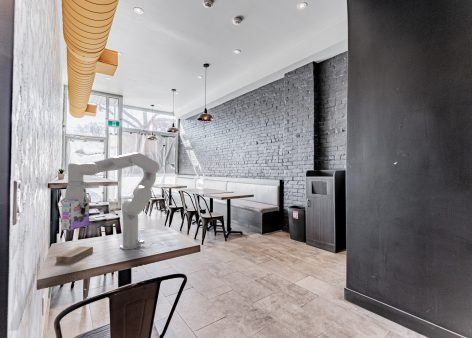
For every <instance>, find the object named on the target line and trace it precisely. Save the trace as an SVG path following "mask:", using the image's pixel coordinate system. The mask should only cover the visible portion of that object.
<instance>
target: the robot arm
mask: <svg viewBox="0 0 472 338" xmlns="http://www.w3.org/2000/svg"><path fill="white" fill-rule="evenodd" d="M133 166H136V167H138V168H139V169H140V168H141V169H142V171H143V176H142V178H141V180H140V182H138V185H137V186H136V187H135V188H134V189H133V192H132V194H133V195H132V196H133V198H127V199H126V200H125V201H124V202H123V203H122V205H121V213H122V244H120V245H119V249H121V250H134V249H137V248H140V247H141V245H142V244H143V245H145V244H146V243H145V242H146V241H145V240H144V239H140V238H139V215H140V214H141V212H143V211H144V209H145V208H146V206H147V205H148V203H149V201H150V200H151V198H152V195H153V192H152V187H153V186H154V184H155V182H156V179H157V175H156V173H158V172H159V170H160V165H159V163H158V162H157V161H156V160H154V159H152V158H151V157H149V156H147V155H144V154H143V153H141V152H132V153H126V154H122V155H118V156H113V157H109V158H106V159H102V160H97V161H92V162H88V163H80V162H76V163H75V162H70V163H68V165H67V186H66V189H65V193H64V195H65V196H64V198H63V199H62V200H60V204H62V201H68V200H78V202H79V204H80V205H81V206H82V208H81V215H83V214H85V212H86V210H85V207H86V206H87V205H88V204H89V205H90V203H91V202H92V200H91V199H90V198H89V197H87V196H88V194H87V190H86V186H85V185H86V184H87V183H86V181H84V176H94V175H97V174H99V173H104V172H109V171H118V170H122V169H125V168H131V167H133ZM84 199H85V201H84ZM85 202H87V203H85Z"/></svg>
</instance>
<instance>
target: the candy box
mask: <svg viewBox="0 0 472 338" xmlns="http://www.w3.org/2000/svg"><path fill="white" fill-rule="evenodd" d="M84 201H85V199H84ZM85 203H87V202H85ZM81 208H82V206H81V205H80V204H79V202H78V200H68V201H62V203H61V231H73V230H76V229H77V230H78V229H79V228H83V227H86V226H89V225H90V203H89V204H88V205H87V206H86V207H85V210H86V212H85V214H83V215H81Z"/></svg>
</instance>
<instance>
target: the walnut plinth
mask: <svg viewBox="0 0 472 338" xmlns="http://www.w3.org/2000/svg"><path fill="white" fill-rule="evenodd" d="M93 253H94V247H93V246H82V245H81V246H80V245H79V246H77V247H74V248H72V249H70V250H68V251H66V252H63V253H60V254H59V255H56V256H55V258H56V263H57V264H70V265H71V264H74V263H75V262H77V261H79V260H81V259H84V258H85V257H87V256H89V255H91V254H93Z"/></svg>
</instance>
